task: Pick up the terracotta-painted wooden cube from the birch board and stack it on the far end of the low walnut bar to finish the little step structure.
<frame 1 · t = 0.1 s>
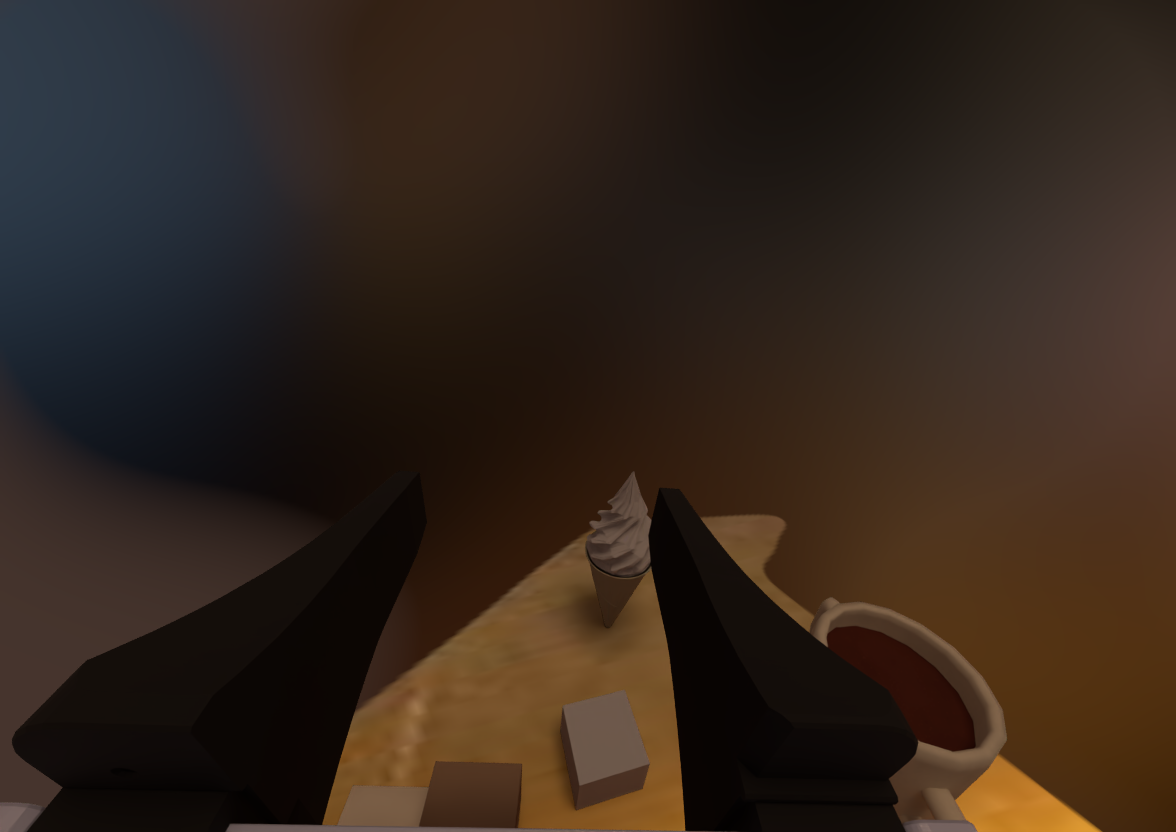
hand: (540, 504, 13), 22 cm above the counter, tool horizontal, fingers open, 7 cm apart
ice cream cone: (607, 626, 34), on the counter
grey block: (599, 759, 25), on the counter
character mug: (805, 806, 24), on the counter
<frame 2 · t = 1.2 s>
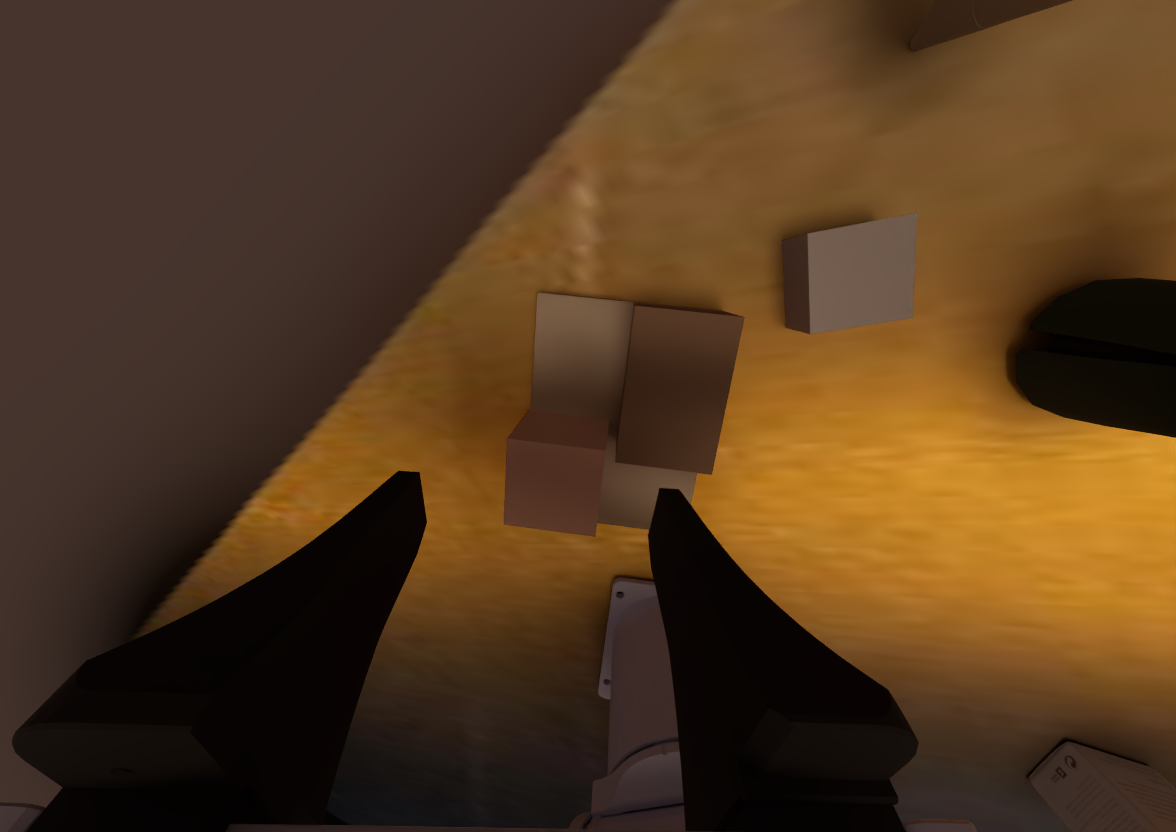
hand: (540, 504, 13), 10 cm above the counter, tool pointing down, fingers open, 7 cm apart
birch board: (617, 416, 22), on the counter
ice cream cone: (912, 47, 17), on the counter
grey block: (826, 277, 20), on the counter
skincare box: (1086, 767, 27), on the counter
terracotta cube: (565, 452, 22), point 1 cm above the counter, touching birch board
walnut bar: (667, 376, 22), resting on birch board
character mug: (1074, 347, 20), on the counter
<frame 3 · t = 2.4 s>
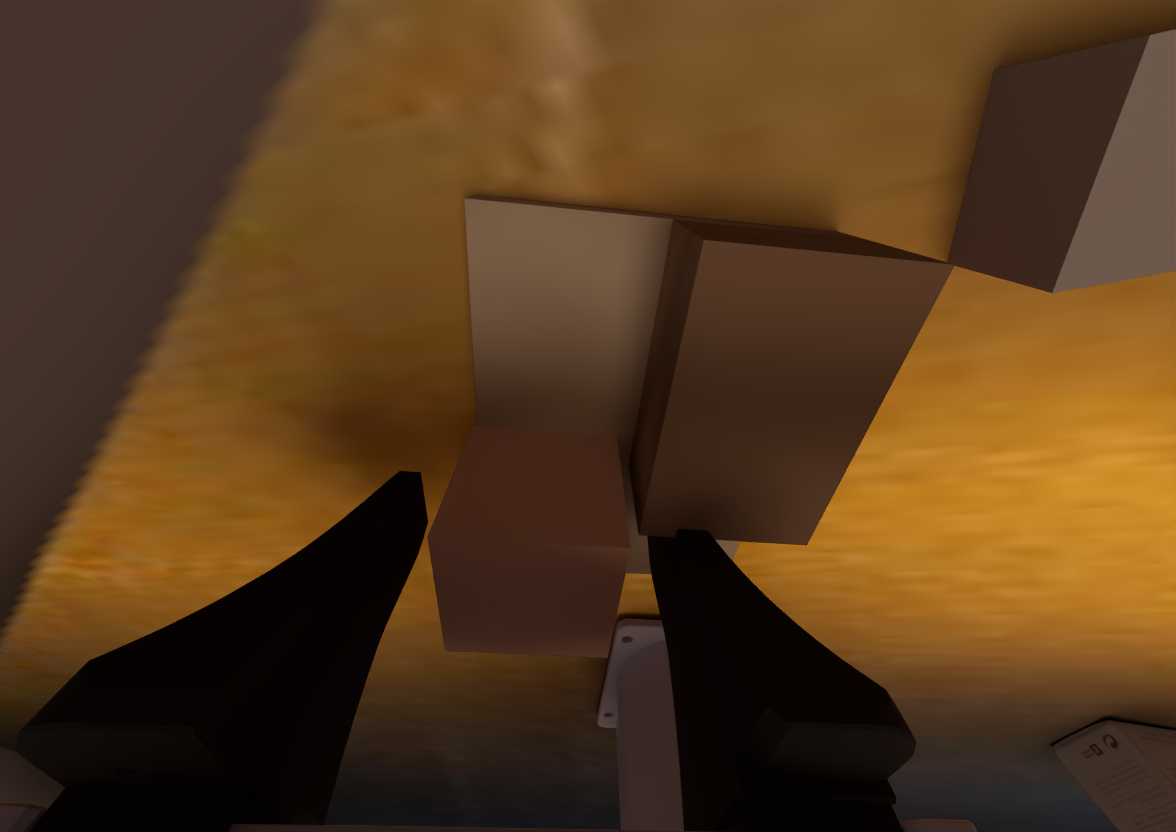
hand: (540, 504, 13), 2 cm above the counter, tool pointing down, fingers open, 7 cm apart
birch board: (627, 421, 13), on the counter
grey block: (1054, 157, 10), on the counter
skincare box: (1112, 732, 26), on the counter
terracotta cube: (543, 485, 13), point 1 cm above the counter, touching birch board
walnut bar: (717, 354, 12), resting on birch board
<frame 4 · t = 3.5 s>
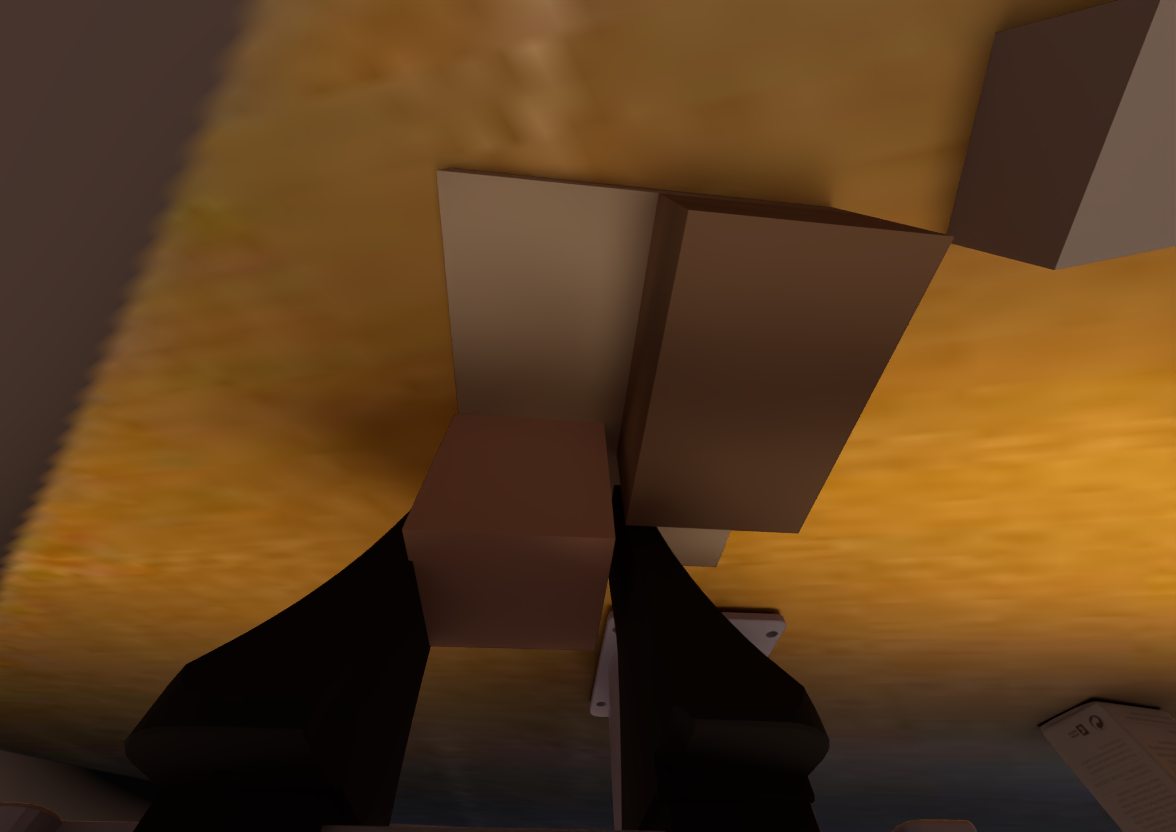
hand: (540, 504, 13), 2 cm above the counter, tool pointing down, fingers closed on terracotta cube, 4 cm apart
birch board: (614, 408, 13), on the counter
grey block: (1056, 127, 9), on the counter
skincare box: (1098, 712, 26), on the counter
terracotta cube: (529, 475, 13), point 1 cm above the counter, touching birch board, gripper
walnut bar: (707, 338, 12), resting on birch board
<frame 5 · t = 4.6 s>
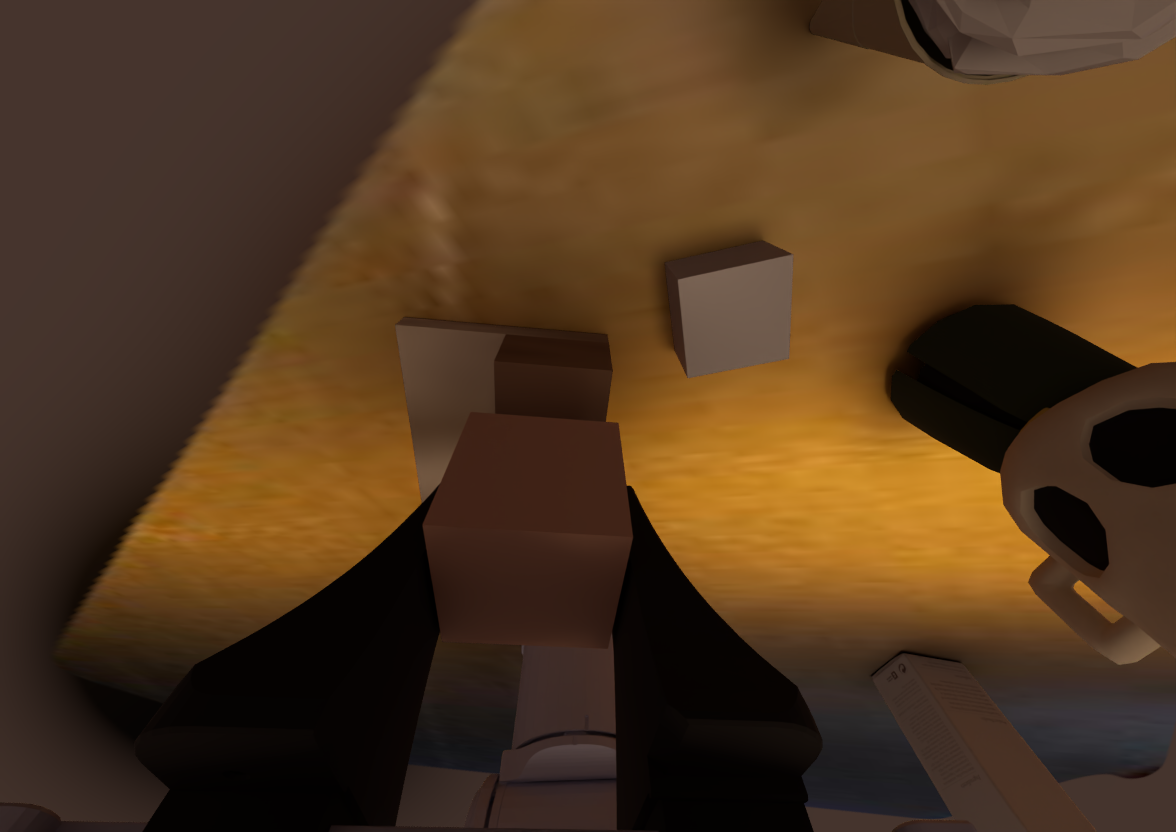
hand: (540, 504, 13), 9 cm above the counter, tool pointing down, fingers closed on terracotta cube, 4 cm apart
birch board: (507, 437, 22), on the counter
ice cream cone: (813, 26, 14), on the counter
grey block: (714, 298, 18), on the counter
skincare box: (915, 665, 34), on the counter
terracotta cube: (542, 473, 13), point 8 cm above the counter, touching gripper
walnut bar: (554, 398, 21), resting on birch board
character mug: (949, 362, 20), on the counter
when the fingers open (5 cm above the counter, at t = 5.5 s): terracotta cube stays where it is, resting on walnut bar.
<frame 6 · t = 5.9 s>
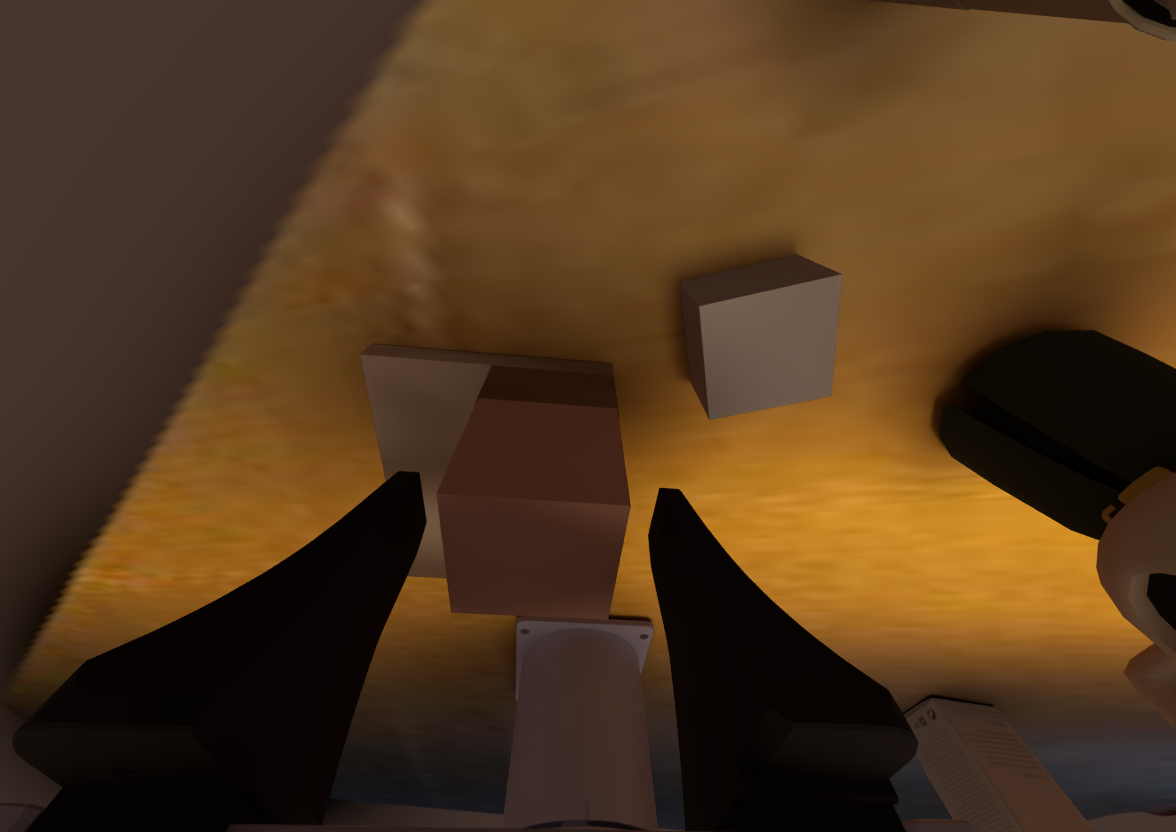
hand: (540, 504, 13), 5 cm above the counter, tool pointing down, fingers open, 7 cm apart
birch board: (496, 476, 19), on the counter
grey block: (738, 321, 16), on the counter
skincare box: (944, 708, 31), on the counter
terracotta cube: (545, 458, 14), point 4 cm above the counter, touching walnut bar
walnut bar: (550, 434, 18), resting on birch board
character mug: (1007, 393, 17), on the counter
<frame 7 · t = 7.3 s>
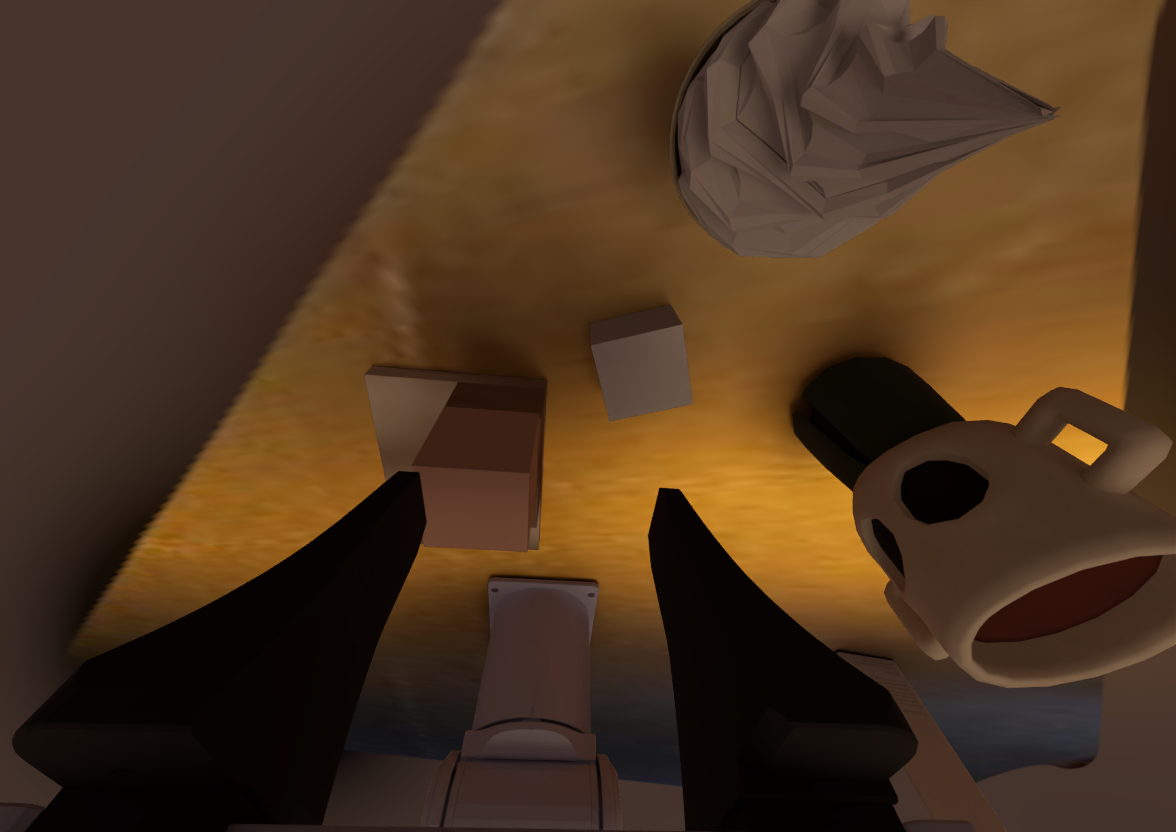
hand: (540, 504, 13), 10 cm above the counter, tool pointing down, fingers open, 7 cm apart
birch board: (467, 463, 25), on the counter
ice cream cone: (695, 145, 17), on the counter
grey block: (636, 350, 22), on the counter
skincare box: (853, 663, 37), on the counter
terracotta cube: (493, 448, 20), point 4 cm above the counter, touching walnut bar
walnut bar: (505, 431, 24), resting on birch board
character mug: (844, 401, 23), on the counter
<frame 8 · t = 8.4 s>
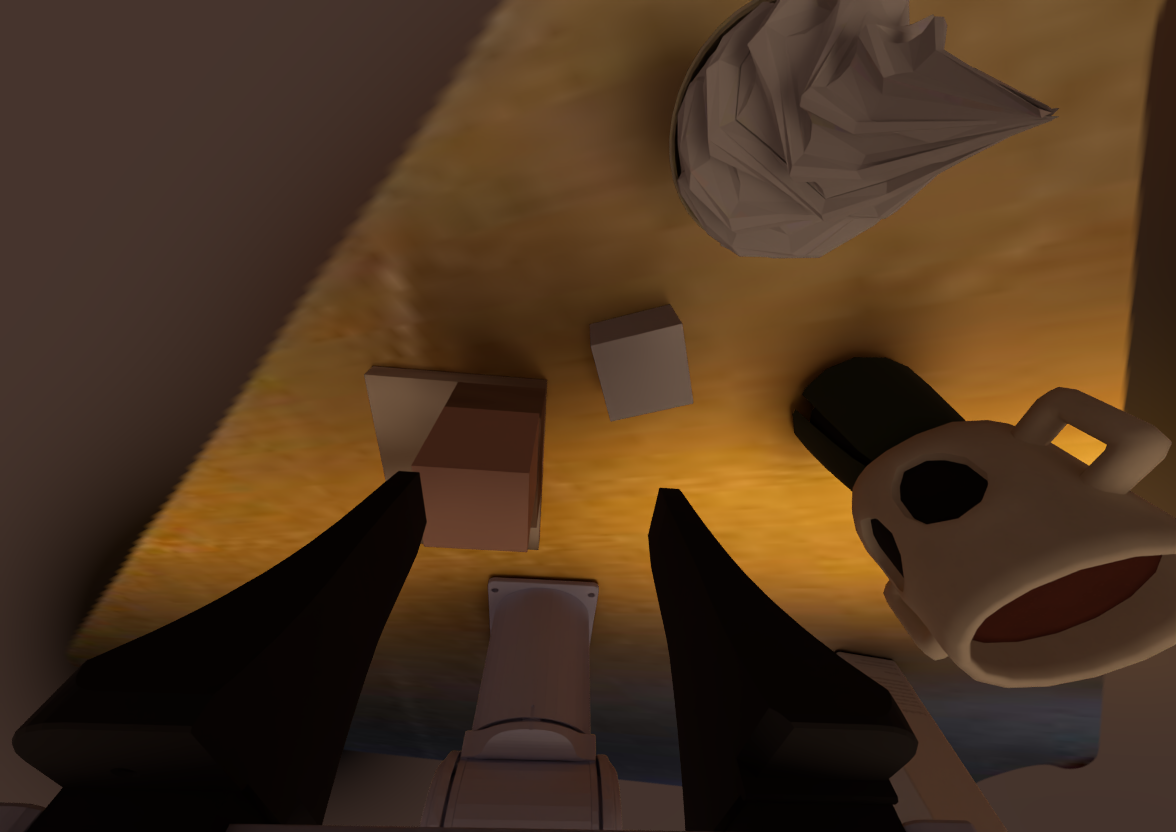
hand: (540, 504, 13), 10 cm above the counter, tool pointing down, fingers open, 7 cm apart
birch board: (467, 463, 25), on the counter
ice cream cone: (695, 145, 17), on the counter
grey block: (636, 350, 22), on the counter
skincare box: (853, 663, 37), on the counter
terracotta cube: (493, 448, 20), point 4 cm above the counter, touching walnut bar
walnut bar: (505, 431, 24), resting on birch board
character mug: (844, 401, 23), on the counter
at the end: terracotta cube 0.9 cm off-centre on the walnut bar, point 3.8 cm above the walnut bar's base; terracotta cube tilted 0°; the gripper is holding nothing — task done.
